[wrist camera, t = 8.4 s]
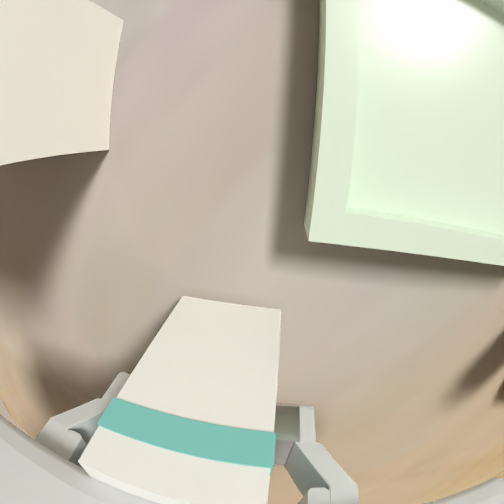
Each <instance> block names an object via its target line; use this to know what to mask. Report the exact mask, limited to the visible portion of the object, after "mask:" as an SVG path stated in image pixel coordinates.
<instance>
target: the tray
mask: <svg viewBox="0 0 504 504" xmlns="http://www.w3.org/2000/svg"><path fill="white" fill-rule="evenodd" d="M304 226H305V230H306V234H307V238H308V241H311V242H320V243H329V244H338V245H347V246H355V247H364V248H372V249H381V250H389V251H397V252H405V253H413V254H421V255H428V256H436V257H444V258H451V259H458V260H466V261H473V262H480V263H487V264H494V265H501V266H504V0H320V21H319V54H318V76H317V93H316V108H315V121H314V134H313V145H312V156H311V167H310V176H309V186H308V195H307V204H306V212H305V220H304Z"/></svg>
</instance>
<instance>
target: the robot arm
mask: <svg viewBox="0 0 504 504" xmlns="http://www.w3.org/2000/svg"><path fill="white" fill-rule="evenodd" d="M130 375H131V374H129V373H126V372H123V371H122V372H120V373H119V374H118V375H117V376H116V378H115V379H114V381H113V382H112V384H111V385H110V387H109V388H108V390H107V391H106V392H105V394H104V395H103V397H102V398H101V399H100V398H97V399H94V400H92V401H90V402H87V403H85V404H83V405H80V406H78V407H76V408H73V409H71V410H68V411H66V412H63V413H61V414H59V415H56V416H53V417H51V418H50V419H49V421H48V422H47V423H46V425H45V426H44V427H43V429H42V430H41V432H40V433H39V434H38V436H37V437H36V438H35V440H34V439H33V438H31V437H30V436H28V435H27V434H25V433H24V432H23V431H21V430H20V429H19V428H17V427H16V426H14V425H13V424H12V423H11V422H9V421H8V420H7V419H5V418H4V417H3V416H1V415H0V504H160V503H156V502H153V501H150V500H147V499H144V498H141V497H139V496H136V495H133V494H130V493H128V492H125V491H123V490H120V489H118V488H115V487H113V486H111V485H108V484H106V483H104V482H102V481H99V480H97V479H95V478H93V477H91V476H90V475H89V474H88V473H87V472H86V471H85V470H84V468H83V467H82V466H81V465H80V464H79V462H78V460H79V459H80V457H81V455H82V453H83V452H84V450H85V448H86V447H87V445H88V443H89V442H90V440H91V438H92V436H93V435H94V433H95V431H96V430H97V428H98V426H97V423H98V421H99V419H100V418H101V416H102V414H103V413H104V411H105V410H106V408H107V406H108V405H109V403H110V402H111V400H112V398H113V397H115V398H116V397H117V396H118V394H119V392H120V391H121V389H122V388H123V386H124V384H125V383H126V381H127V380H128V378H129V377H130ZM274 433H276V442H275V455H274V464H278V465H285V468H286V469H287V471H288V473H289V474H290V476H291V478H292V479H293V481H294V482H295V484H296V486H297V487H298V489H299V490H300V492H301V494H302V495H303V498H302V499H301V501H300V502H299V503H298V504H359V497H358V487H357V484H356V483H355V482H354V481H353V480H352V479H351V478H350V476H349V475H348V474H347V473H346V472H345V471H344V470H343V469H342V468H341V466H340V465H339V464H338V463H337V462H336V461H335V460H334V458H333V457H332V456H331V455H330V454H329V453H328V451H327V450H326V449H325V448H324V447H323V446H322V444H321V443H320V442H316V437H315V418H314V407H313V406H306V405H295V404H281V403H276V411H275V424H274ZM425 504H504V479H503V478H501V477H495V478H492V479H489V480H487V481H485V482H483V483H481V484H478V485H476V486H474V487H471V488H469V489H466V490H464V491H461V492H458V493H456V494H453V495H450V496H447V497H444V498H441V499H438V500H435V501H432V502H428V503H425Z"/></svg>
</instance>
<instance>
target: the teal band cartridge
mask: <svg viewBox="0 0 504 504" xmlns="http://www.w3.org/2000/svg"><path fill="white" fill-rule="evenodd" d="M280 328H281V310H279V309H271V308H263V307H255V306H247V305H240V304H233V303H226V302H219V301H212V300H206V299H199V298H193V297H187V296H182V298H181V299H180V301H179V302H178V303H177V305H176V306H175V308H174V309H173V311H172V312H171V314H170V315H169V317H168V318H167V320H166V321H165V323H164V324H163V326H162V327H161V329H160V330H159V332H158V333H157V335H156V336H155V338H154V339H153V341H152V342H151V344H150V346H149V347H148V349H147V350H146V352H145V353H144V355H143V356H142V358H141V359H140V361H139V362H138V364H137V366H136V367H135V369H134V370H133V372H132V373H131V375H130V377H129V378H128V380H127V381H126V383H125V384H124V386H123V388H122V389H121V391H120V392H119V394H118V396H117V397H116V398H115V397H113V398H112V400H111V402H110V403H109V405H108V406H107V408H106V410H105V411H104V413H103V414H102V416H101V418H100V419H99V421H98V423H97V426H98V428H97V430H96V431H95V433H94V435H93V436H92V438H91V440H90V442H89V443H88V445H87V447H86V448H85V450H84V452H83V453H82V455H81V457H80V459H79V460H78V462H79V464H80V465H81V466H82V467H83V468H84V470H85V471H86V472H87V473H88V474H89V475H90V476H91V477H93V478H95V479H97V480H99V481H102V482H104V483H106V484H108V485H111V486H113V487H115V488H118V489H120V490H123V491H125V492H128V493H130V494H133V495H136V496H139V497H141V498H144V499H147V500H150V501H153V502H156V503H160V504H267V499H268V490H269V480H270V475H271V473H272V470H273V466H274V455H275V442H276V433H274V424H275V411H276V397H277V382H278V366H279V348H280Z"/></svg>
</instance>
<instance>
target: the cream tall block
mask: <svg viewBox="0 0 504 504" xmlns="http://www.w3.org/2000/svg"><path fill="white" fill-rule="evenodd" d="M123 24H124V21H123V20H121V19H120V18H118V17H116V16H115V15H113V14H111V13H110V12H108V11H107V10H105V9H103V8H102V7H100V6H98V5H96V4H95V3H93V2H91V1H89V0H0V165H5V164H10V163H15V162H20V161H25V160H31V159H37V158H43V157H50V156H57V155H65V154H73V153H81V152H91V151H102V150H109V137H110V119H111V105H112V95H113V85H114V77H115V69H116V62H117V56H118V50H119V44H120V39H121V34H122V29H123Z"/></svg>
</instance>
